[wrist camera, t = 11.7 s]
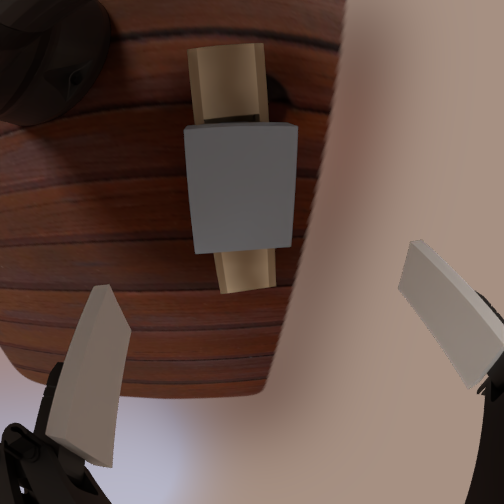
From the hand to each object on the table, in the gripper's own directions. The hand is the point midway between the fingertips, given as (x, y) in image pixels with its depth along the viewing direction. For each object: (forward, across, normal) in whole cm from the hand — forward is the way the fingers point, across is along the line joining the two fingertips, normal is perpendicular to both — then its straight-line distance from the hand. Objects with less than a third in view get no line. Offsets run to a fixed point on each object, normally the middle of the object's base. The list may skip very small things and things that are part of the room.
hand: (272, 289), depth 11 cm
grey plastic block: (+18, 0, 0) cm, 18 cm away
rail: (+18, 0, 0) cm, 19 cm away
